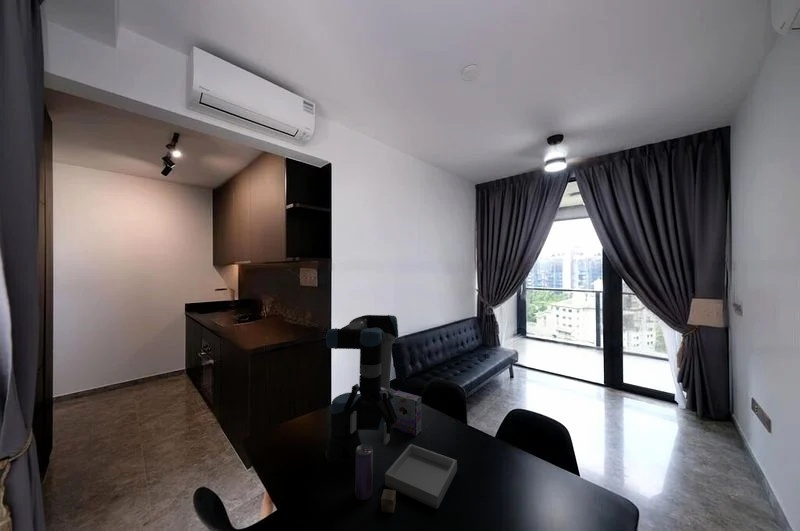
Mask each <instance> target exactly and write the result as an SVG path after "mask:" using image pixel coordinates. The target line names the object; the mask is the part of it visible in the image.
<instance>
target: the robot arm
mask: <svg viewBox="0 0 800 531" xmlns="http://www.w3.org/2000/svg"><path fill="white" fill-rule="evenodd" d="M398 327H399V325H398V319H397V316H395V315H390V314H387V315H385V314H381V315H379V314H366V315H361V316H358V317H355V318H352V319H351V320H350V321H349V323H348V324H347V325H345V326H342V327H341V328H337V327H335V328H330V329H328V330H327V332H326V335H325V344H326V347H327V348H328V349H333V350H359V374H360V375H359V378H358V380H359V382H358V383H356V384H354V385H352V387H351V392H345V393H342V394H339V395H337V396H336V397H334V398H333V399H332V401H331V406H330V410H329V412H330V431H329V434H330V435H329V439H328V442H327V445H326V447H325V459H326V461H327V462H328V463H330V464H332V465H335V466H346V465H351V464H353V463H355V459H356V449H357V447H358V446H360V445H362V444H363V443H362V441H361V438H360V437H361V436H360V433H359V431H375V432H377V431H378V432H382V431H383V445H387V444H388V442H390V436H391V433H392V432H393V428H392V424H394V423H395V422H396V421H397V416H396V413H395V400H394V399H392V394H393V393H391V391H390V387H391V386H390V385H391V369H392V353H393V352H392V351H393V350H392V349H393V344H394V343H395V342H396V339H398V338H399V328H398ZM358 392H359V393H358ZM359 394H360V395H359Z"/></svg>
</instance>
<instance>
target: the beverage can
mask: <svg viewBox="0 0 800 531" xmlns="http://www.w3.org/2000/svg"><path fill="white" fill-rule="evenodd" d="M354 463H355V465H354V466H355V468H354V469H355V470H354V472H355V473H354V475H355V476H354V496H355V497H356V499H358V500H360V501H367V500H368V499H369V498H371V497H372V494H373V486H374V485H373V484H374V483H373V481H374V480H373V479H374V478H373V477H374V475H373V474H374V449H373V446H372V445H371V444H367V443H364V444H363V443H362V445H360V446H358V447H357V449H356V459H355V462H354Z"/></svg>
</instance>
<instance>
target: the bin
mask: <svg viewBox="0 0 800 531" xmlns="http://www.w3.org/2000/svg"><path fill="white" fill-rule="evenodd" d="M457 472H458V459H454V458H452V457H449V456H446V455H443V454H440V453H438V452H435V451H432V450H429V449H426V448H423V447H421V446H418V445H415V444H412V443H410V444H409V445H408V446H407V447H406V449H405V450H404V451H402V453H401V454H400V455H399V456H398V457H397V459H396V460H395V461H394V463H393V464H392V465H391V466H390V467H389V468H388V469H387V470H386V472H385V473H384V486H386V487H387V488H390V489H391V490H396V492H399V493H400V494H403V495H404V496H407V497H409V498H411V499H414V500H416V501H417V502H420V503H422V504H424V505H427V506H429V507H430V508H433V509H435V510H437V511H438V509H439V507H440V505H441V503H442V501H443V500H444V498H445V496H446V493H447V492H448V489H449V488H450V485H451V484H452V482H453V479H454V478H455V476H456V473H457Z"/></svg>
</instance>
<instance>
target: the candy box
mask: <svg viewBox="0 0 800 531" xmlns="http://www.w3.org/2000/svg"><path fill="white" fill-rule="evenodd" d="M391 394H392V399H394V400H395V413H396V416H397V421H396V422H395V423H394V424H392V429H394V430H397V431H400V432H403V433H405V434H408V435H411V436H414V437H417V436H418V435H419V434H420V433H421V432H422V396H420V395H415V394H414V393H413V394H412V393H408V392H404V391H401V390H396V391H395V392H394V393H391Z"/></svg>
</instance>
